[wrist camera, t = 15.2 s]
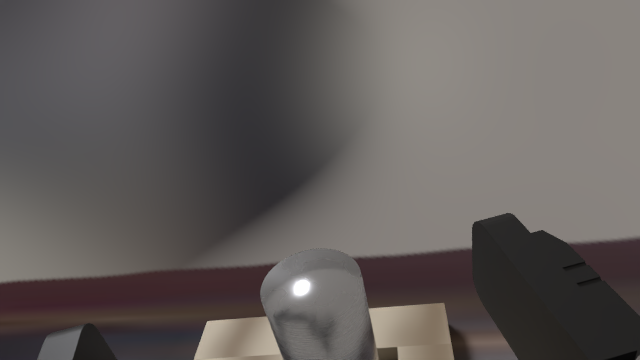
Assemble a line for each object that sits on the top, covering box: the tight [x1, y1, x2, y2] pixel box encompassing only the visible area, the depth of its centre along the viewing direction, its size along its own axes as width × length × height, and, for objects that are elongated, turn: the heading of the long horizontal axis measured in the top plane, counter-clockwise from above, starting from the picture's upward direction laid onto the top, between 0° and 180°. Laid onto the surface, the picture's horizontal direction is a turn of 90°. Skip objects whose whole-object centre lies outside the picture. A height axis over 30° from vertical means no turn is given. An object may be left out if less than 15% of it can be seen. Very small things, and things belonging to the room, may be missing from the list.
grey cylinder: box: [260, 249, 379, 360], centre depth 28 cm, size 6×5×12 cm
